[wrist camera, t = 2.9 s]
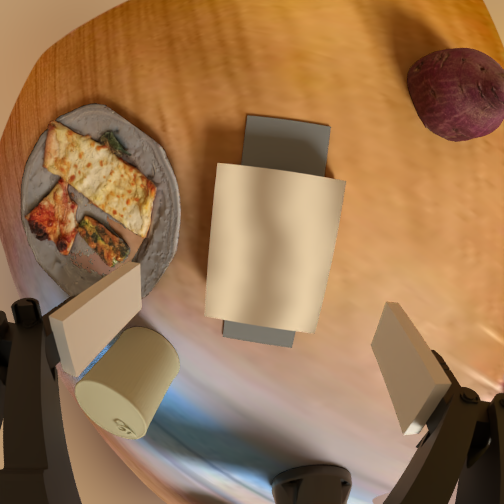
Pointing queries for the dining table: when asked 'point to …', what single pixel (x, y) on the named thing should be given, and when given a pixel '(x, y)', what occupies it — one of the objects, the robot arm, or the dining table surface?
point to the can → (129, 382)
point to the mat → (287, 159)
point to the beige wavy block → (271, 246)
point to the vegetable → (458, 93)
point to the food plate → (98, 197)
